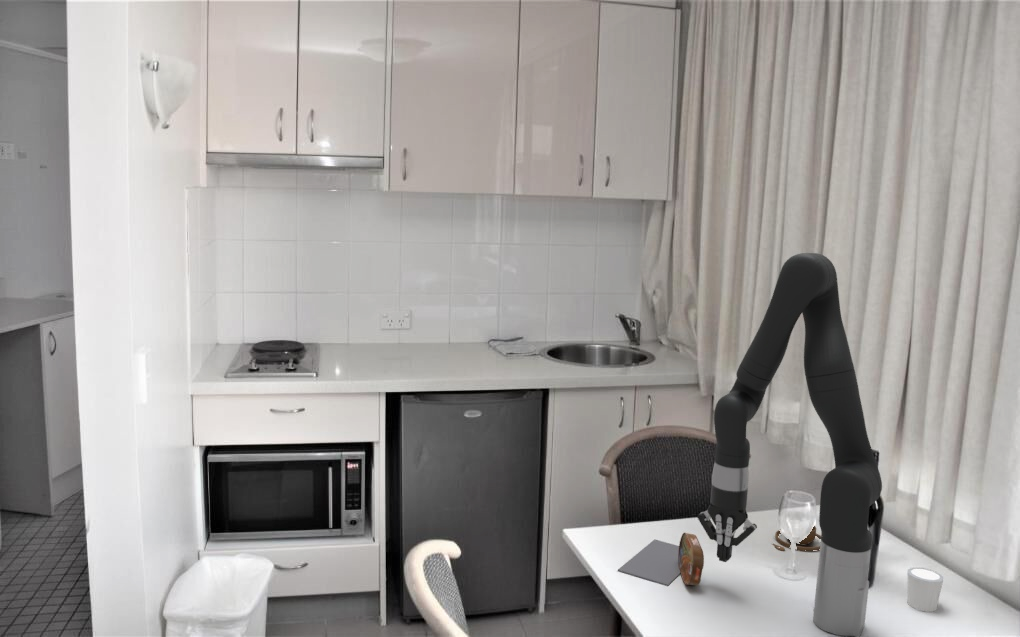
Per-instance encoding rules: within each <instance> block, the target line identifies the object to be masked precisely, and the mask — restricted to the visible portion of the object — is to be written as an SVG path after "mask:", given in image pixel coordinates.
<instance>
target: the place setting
mask: <svg viewBox="0 0 1020 637" xmlns="http://www.w3.org/2000/svg"><path fill="white" fill-rule="evenodd" d="M779 530H780V529H778V530H776V532H775V540H776V541H777V542H778V544H780V545H781V546H780V545H777V544H776V543H773V544H772V546H774V548H775V549H776V550H779V551H783V552H784V551H786V549H785V548H787V549H790V548H789V547H790V544H791V543H789V542H786V541H784V540H782V539H781V538H780V536H779V534H781V533H780V531H779ZM778 536H779V538H778ZM815 536H817V537H818V538H819V539H821V535H820V534H818V533H817V527H816V525H814V527H813V529H812V531H811V532H810V534H809V535H808V536H807V538H805V539H804V540H802V541H801V542H799V543H800V544H808V545H809V544H810V543H812V542H813V541H815V540H816V539H815ZM783 546H784V547H783ZM796 546H797V550H796V551H798V550H800V551H799V552H806V551H813V550H819V549H820V545H819V546H812V547H811V546H808V547H807V546H802V545H796ZM779 547H780V548H779ZM805 550H806V551H805ZM819 551H820V550H819Z"/></svg>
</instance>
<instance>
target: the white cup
mask: <svg viewBox="0 0 1020 637" xmlns="http://www.w3.org/2000/svg"><path fill="white" fill-rule="evenodd" d="M943 582H944V576H943V575H942V574H941V573H939V572H937V571H935V570H932V569H929V568H925V567H917V566H916V567H915V566H914V567H910V568H908V569H907V582H906V583H907V589H906V590H907V592H906V593H907V595H906V596H907V599H906V600H907V601H906V602H907V604H908V605H909V607H911V608H913V609H915V610H918V611H922V612H927V613H928V612H935V611H936V610H937V609H938V603H939V599H940V595H941V591H942V586H943Z"/></svg>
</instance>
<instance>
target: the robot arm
mask: <svg viewBox="0 0 1020 637" xmlns="http://www.w3.org/2000/svg"><path fill="white" fill-rule="evenodd" d="M838 285H839V283H838V274H837V270H836V267H835V264H834V263H833V262H832V261H831V259H829V258H828V257H827V256H825V255H824V254H821V253H819V252H818V253H817V252H816V253H815V252H804V253H797V254H795V255H792V256H790V257H789V258H788V259H787V260H786V261H785V262H784V263H783V265H782V267H781V269H780V273H779V274H778V278H777V281H776V283H775V287H774V290H773V293H772V296H771V299H770V301H769V305H768V307H767V310H766V311H765V315H764V317H763V319H762V321H761V324H760V326H759V327H758V330H757V332H756V334H755V336H754V337H753V339H752V342H751V343H750V345H749V347H748V349H747V350H746V353H745V354H744V356H743V359H742V360H741V361H740V364H739V365H738V368H737V370H736V379H735V382H734V383H733V386H732V387H731V390H730V391H728V393H727V394H725V395H723V396H722V397H720V399H719V400H718V401H717V402H716V404H715V408H714V415H713V421H714V423H713V424H714V425H713V426H714V435H715V438H716V445H715V455H714V464H713V468H712V476H711V490H710V499H709V500H710V503H709V505H708V507H707V510H705V511H704V510H703V511H701V512H700V513H698V515H697V520H698V521H699V523H700V525H701V526H702V528H703V530H704V531H705V533H706V534H707V536H708V538H709V539H710V540H712V541H715V542H716V544H717V546H716V547H717V548H716V557H717V558H718V561H719V562H723V563H727V562H728V561H729V560H731V558H732V554H733V546H735V547H737V546H739V545H740V544H741V543H742V542H743V541H745V539H747V538H748V537H749V536H750V535H751V534H753V533H754V532H755V530H756V529H757V528H758V526H757V524H756V523H753V522H751V521H750V520H749V519H748V518H749V515H748V513H747V505H748V502H747V501H748V491H749V481H750V480H749V479H750V469H749V468H750V467H749V465H750V453H751V444H750V441H749V439H748V438H747V424H748V422H750V421H751V420H752V419H754V417H755V416H756V415H757V413H758V412H759V409H760V406H761V404H762V402H763V400H764V397H765V395H766V392H767V388H768V386H769V385H770V384H771V382H772V380H773V378H774V376H775V375H776V373H777V371H778V369H779V367H780V365H781V364H782V362H783V360H784V358H785V355H786V351H787V349H788V345H789V342H790V338H791V335H792V333H793V329H794V328H795V325H796V323H797V321H798V320H799V318H801V315H802V318H803V322H804V346H803V368H804V369H803V370H804V375H805V380H806V385H807V391H808V394H809V399H810V401H811V404H812V406H813V408H814V411H815V412H816V414H817V415H818V417H819V419H820V421H821V422H822V424H823V425H824V427H825V430H826V432H827V434H828V436H829V439H830V442H831V446H832V451H833V458H834V468H833V469H831V470H829V471H828V472H827V473H826V475H825V476H824V478H823V480H822V484H821V490H820V500H819V519H818V524H819V528H820V531H821V535H820V536H821V542H820V545H819V546H820V550H819V555H818V566H817V576H816V585H815V587H816V588H815V595H814V596H815V597H814V606H813V616H812V620H813V623H814V624H815V626H816V627H818V628H820V630H822V631H825V632H828V633H829V634H834V635H838V636H844V637H860V636H861V633H862V631H863V629H864V627H865V625H866V614H867V608H868V606H867V605H868V598H869V597H868V595H869V588H870V587H869V586H870V580H868V579H869V571H870V570H869V569H870V560H871V551H872V542H873V534H872V533H871V531H870V530H869V517H870V516H869V515H870V506H872V505H873V504H875V502H877V500H879V498H880V496H881V494H882V490H883V482H882V477H881V474H880V470H879V467H878V463H877V461H876V458H875V455H874V453H873V452H874V451H873V449H872V447H871V443H870V439H869V437H868V436H869V435H868V432H867V425H866V421H865V415H864V410H863V404H862V400H861V396H860V389H859V385H858V379H857V375H856V374H857V373H856V371H855V370H856V369H855V365H854V362H853V359H852V354H851V349H850V345H849V342H848V338H847V334H846V330H845V326H844V323H843V320H842V313H841V305H840V294H839V286H838ZM741 526H743V527H742V530H743V532H741V533H740V534H739V535H738V536H737V537H735V534H736V531H737V530H738V529H739V528H740V527H741Z"/></svg>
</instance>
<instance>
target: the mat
mask: <svg viewBox="0 0 1020 637" xmlns="http://www.w3.org/2000/svg"><path fill="white" fill-rule="evenodd" d="M678 552H679V545H677V544H673V543H669V542H666V541H662V540H658V539H653V540H652V541H651V542H650V543H648V544H647V545H646V546H644V547H643V548H642V549H641V550H640V551H638V553H636V554H635V555H633V556H632V558H630V559H628V560H627V562H625V563H624V564H623V565H622V566H620V567H619V568H618V569H617V572H620V573H624V574H626V575H630V576H633V577H636V578H640V579H643V580H647V581H649V582H653V583H657V584H659V585H663V586H666V587H668V586H670V584H672V583H673V582H674V581H675V580H676V579H678V577H679V576H681V572H680V569H679V565H678Z"/></svg>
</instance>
